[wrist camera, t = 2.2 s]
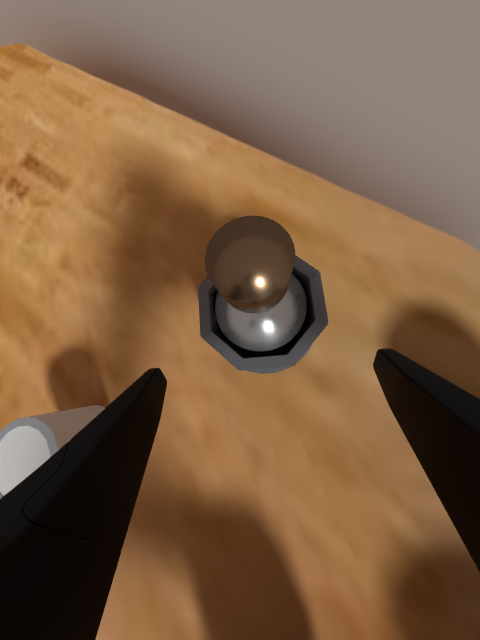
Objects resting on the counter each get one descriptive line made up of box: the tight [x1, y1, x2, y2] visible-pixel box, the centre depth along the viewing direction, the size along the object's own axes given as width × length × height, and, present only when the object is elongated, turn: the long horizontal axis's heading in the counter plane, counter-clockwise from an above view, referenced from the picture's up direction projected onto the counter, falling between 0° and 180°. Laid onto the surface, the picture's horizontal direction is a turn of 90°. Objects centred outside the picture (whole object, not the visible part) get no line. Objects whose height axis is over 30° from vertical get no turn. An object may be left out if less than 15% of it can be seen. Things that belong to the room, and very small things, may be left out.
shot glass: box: [0, 405, 105, 499], centre depth 20 cm, size 7×7×7 cm
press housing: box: [198, 255, 328, 373], centre depth 19 cm, size 13×11×8 cm
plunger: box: [205, 216, 307, 351], centre depth 12 cm, size 7×7×8 cm
